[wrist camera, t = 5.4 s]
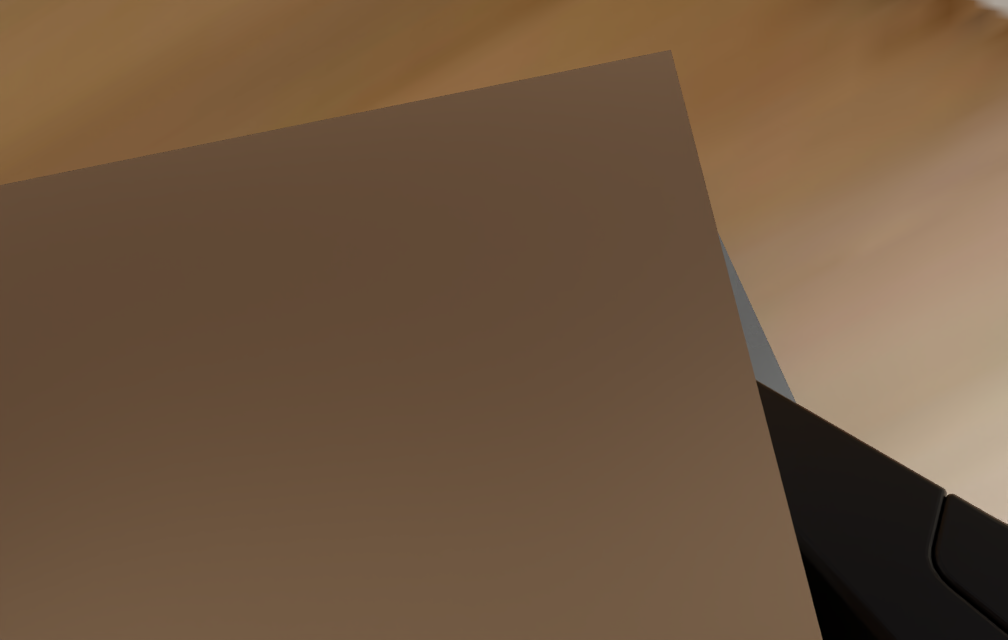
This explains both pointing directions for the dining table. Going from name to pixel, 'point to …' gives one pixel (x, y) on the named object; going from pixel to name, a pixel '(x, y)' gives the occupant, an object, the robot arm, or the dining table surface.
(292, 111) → the dining table surface
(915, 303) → the dining table surface
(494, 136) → the link block
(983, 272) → the dining table surface
